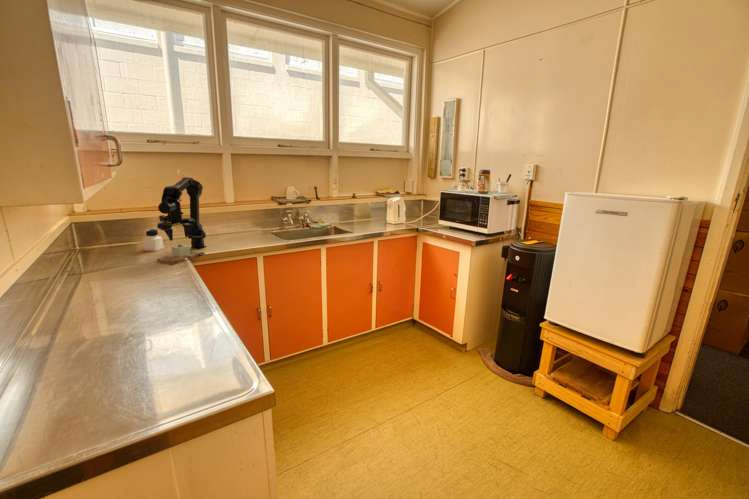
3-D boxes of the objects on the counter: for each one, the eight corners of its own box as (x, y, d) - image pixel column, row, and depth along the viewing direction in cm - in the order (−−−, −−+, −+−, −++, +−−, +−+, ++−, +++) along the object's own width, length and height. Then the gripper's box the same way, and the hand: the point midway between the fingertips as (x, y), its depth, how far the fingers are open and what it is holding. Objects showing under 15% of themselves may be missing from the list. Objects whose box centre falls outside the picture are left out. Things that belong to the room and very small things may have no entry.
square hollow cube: (182, 253, 196) (181, 244, 195) (190, 254, 194) (188, 245, 193) (172, 255, 191) (171, 247, 189) (180, 257, 189) (179, 248, 187)
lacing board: (189, 251, 204) (187, 239, 202) (204, 254, 199) (203, 241, 197) (157, 261, 186) (155, 247, 184) (173, 264, 182) (171, 250, 180)
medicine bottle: (164, 247, 211) (161, 228, 208) (155, 251, 204) (152, 231, 201) (153, 247, 212) (149, 228, 208) (144, 250, 205) (141, 230, 201)
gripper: (179, 207, 197) (183, 233, 201) (147, 211, 180) (152, 241, 184) (194, 208, 193) (197, 235, 197) (162, 213, 176) (167, 243, 180)
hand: (179, 238), depth 190 cm, fingers open, 9 cm apart
